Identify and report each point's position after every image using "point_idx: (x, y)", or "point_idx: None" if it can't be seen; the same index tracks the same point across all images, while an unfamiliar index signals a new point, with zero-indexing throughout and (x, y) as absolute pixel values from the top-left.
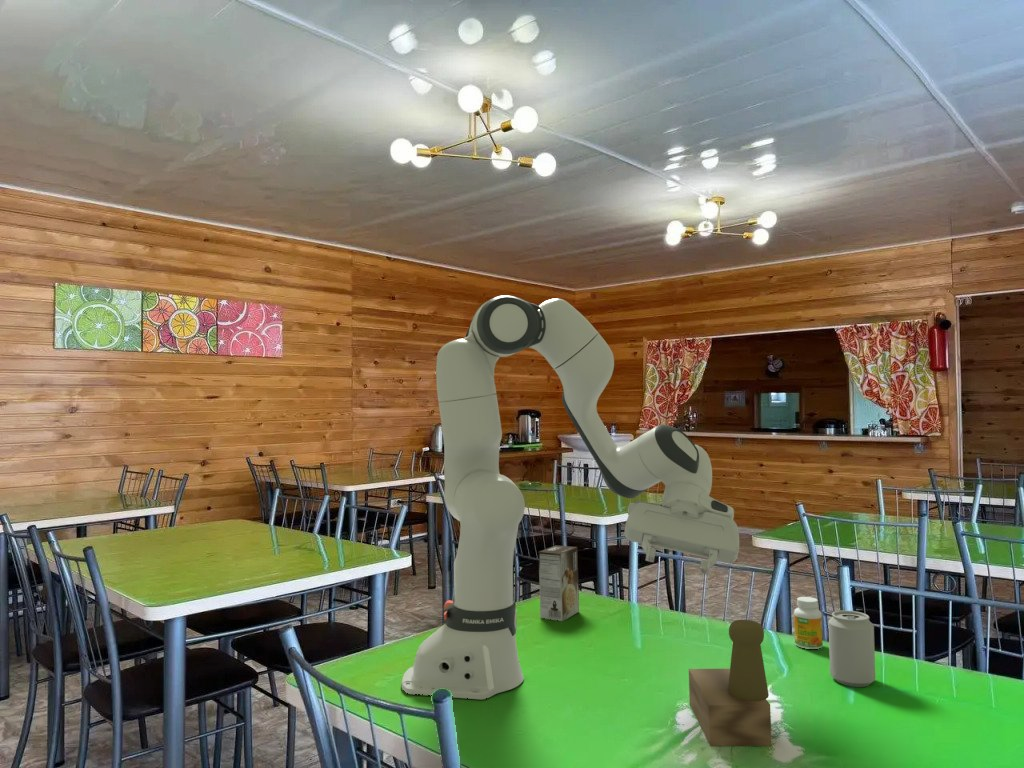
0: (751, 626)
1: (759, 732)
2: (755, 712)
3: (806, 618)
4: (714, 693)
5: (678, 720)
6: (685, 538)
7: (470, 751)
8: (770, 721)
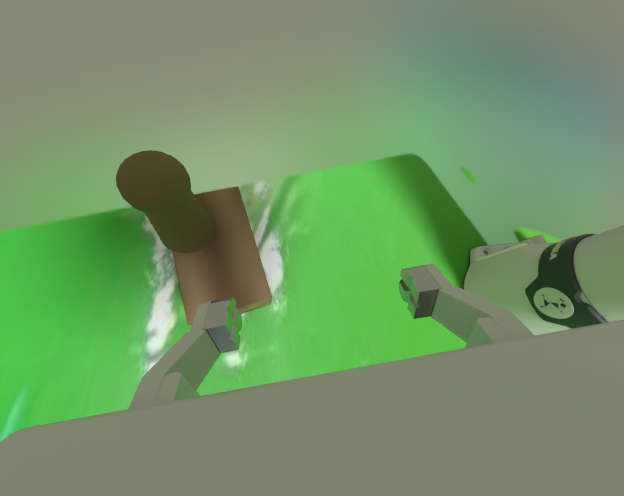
0: (139, 154)
1: None
2: None
3: None
4: (232, 218)
5: (278, 257)
6: (315, 384)
7: (423, 161)
8: None
